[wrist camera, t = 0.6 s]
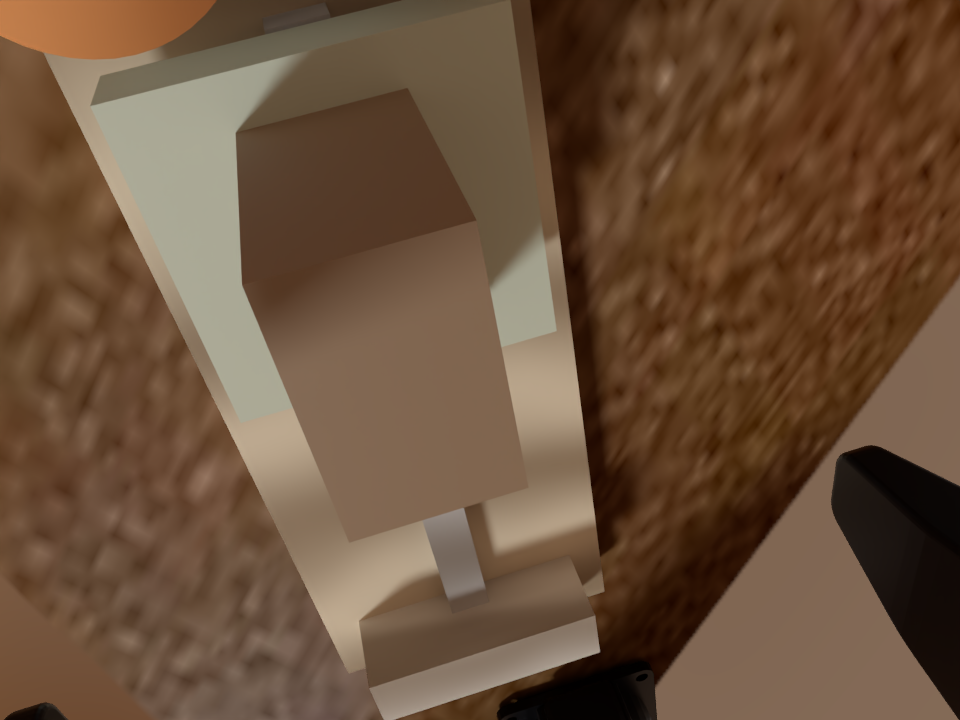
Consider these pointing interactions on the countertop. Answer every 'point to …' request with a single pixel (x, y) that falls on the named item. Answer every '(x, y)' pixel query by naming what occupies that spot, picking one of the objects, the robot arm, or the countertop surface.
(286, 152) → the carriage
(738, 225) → the countertop surface
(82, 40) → the button
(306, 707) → the countertop surface
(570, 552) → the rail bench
